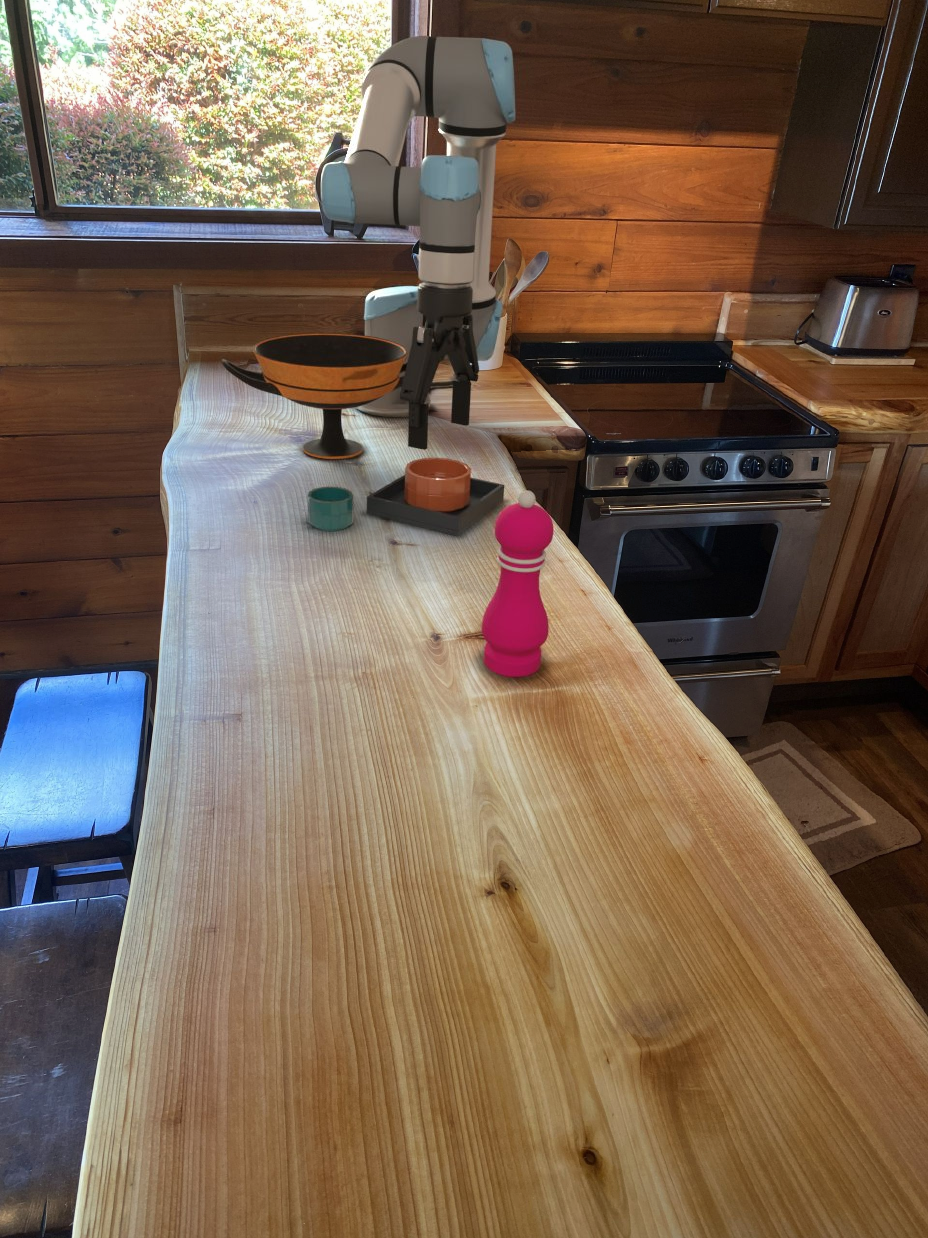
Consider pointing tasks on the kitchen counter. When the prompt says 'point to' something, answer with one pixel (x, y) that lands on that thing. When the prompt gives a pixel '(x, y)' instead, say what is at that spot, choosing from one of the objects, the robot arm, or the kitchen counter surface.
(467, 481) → the bowl large
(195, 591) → the kitchen counter surface
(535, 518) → the pepper mill
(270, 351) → the cup
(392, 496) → the tray
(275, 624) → the kitchen counter surface
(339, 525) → the bowl small
